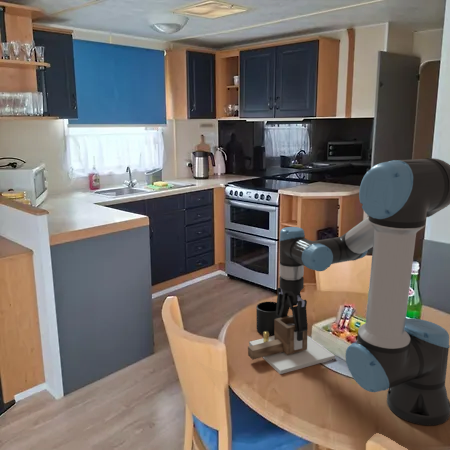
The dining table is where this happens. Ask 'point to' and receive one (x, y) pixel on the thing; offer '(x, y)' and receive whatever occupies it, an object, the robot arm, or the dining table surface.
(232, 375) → the dining table surface
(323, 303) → the dining table surface
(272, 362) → the post board
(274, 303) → the mug
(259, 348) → the brown wooden bracket
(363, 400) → the dining table surface
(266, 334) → the dowel pin
